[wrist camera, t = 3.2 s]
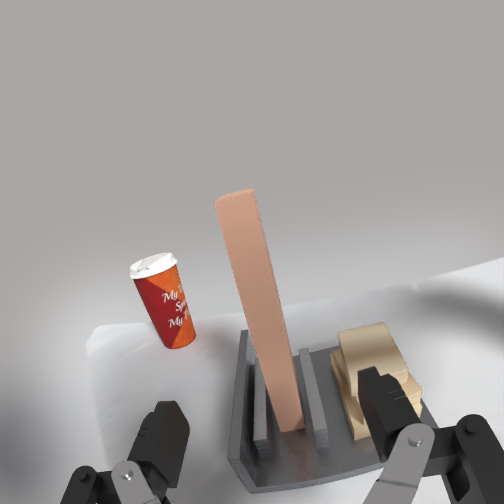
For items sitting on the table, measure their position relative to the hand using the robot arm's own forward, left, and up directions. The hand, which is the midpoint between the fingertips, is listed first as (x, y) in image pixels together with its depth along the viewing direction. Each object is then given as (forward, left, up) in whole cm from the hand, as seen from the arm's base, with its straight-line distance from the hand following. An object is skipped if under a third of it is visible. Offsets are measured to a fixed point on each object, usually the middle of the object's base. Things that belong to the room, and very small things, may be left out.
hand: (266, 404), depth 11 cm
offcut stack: (-11, -6, -12) cm, 18 cm away
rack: (-8, -7, -13) cm, 17 cm away
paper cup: (+1, -34, -13) cm, 37 cm away
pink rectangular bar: (-5, -9, -12) cm, 16 cm away
